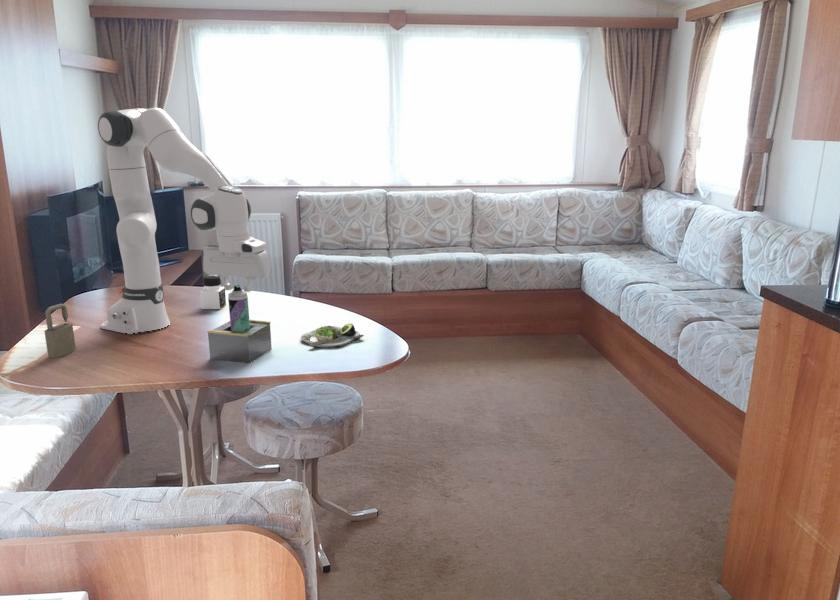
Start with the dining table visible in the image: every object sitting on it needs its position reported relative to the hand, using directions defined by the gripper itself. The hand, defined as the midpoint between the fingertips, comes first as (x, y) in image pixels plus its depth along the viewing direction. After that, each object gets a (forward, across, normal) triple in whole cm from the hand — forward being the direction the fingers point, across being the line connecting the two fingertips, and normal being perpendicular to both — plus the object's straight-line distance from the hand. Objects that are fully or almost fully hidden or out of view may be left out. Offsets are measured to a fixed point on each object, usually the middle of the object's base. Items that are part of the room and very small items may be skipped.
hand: (238, 290), depth 194 cm
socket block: (+20, 0, 0) cm, 20 cm away
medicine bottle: (+20, -37, +42) cm, 59 cm away
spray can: (+19, 0, 0) cm, 19 cm away
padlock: (+20, -52, -15) cm, 58 cm away
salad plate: (+20, +20, +21) cm, 35 cm away
